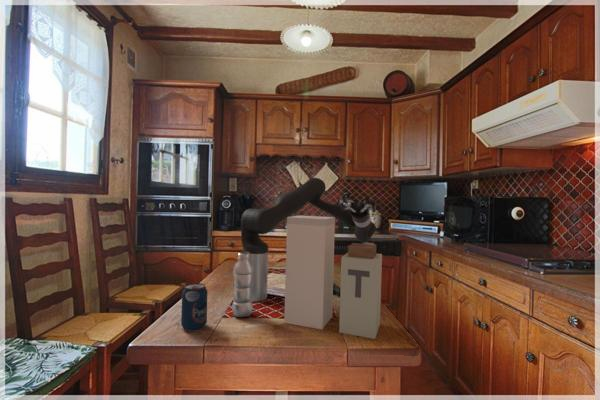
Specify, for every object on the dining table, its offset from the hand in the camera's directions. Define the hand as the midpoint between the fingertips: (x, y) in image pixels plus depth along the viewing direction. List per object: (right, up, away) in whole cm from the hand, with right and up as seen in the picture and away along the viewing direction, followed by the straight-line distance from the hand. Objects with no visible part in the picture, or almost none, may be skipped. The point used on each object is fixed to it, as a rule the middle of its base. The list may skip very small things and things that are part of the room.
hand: (355, 196), depth 126 cm
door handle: (-13, -39, +7) cm, 42 cm away
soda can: (-52, -38, -33) cm, 72 cm away
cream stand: (-19, -39, -25) cm, 50 cm away
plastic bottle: (-40, -38, -23) cm, 60 cm away
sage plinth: (-4, -39, -31) cm, 50 cm away
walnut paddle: (-1, -18, -26) cm, 32 cm away
